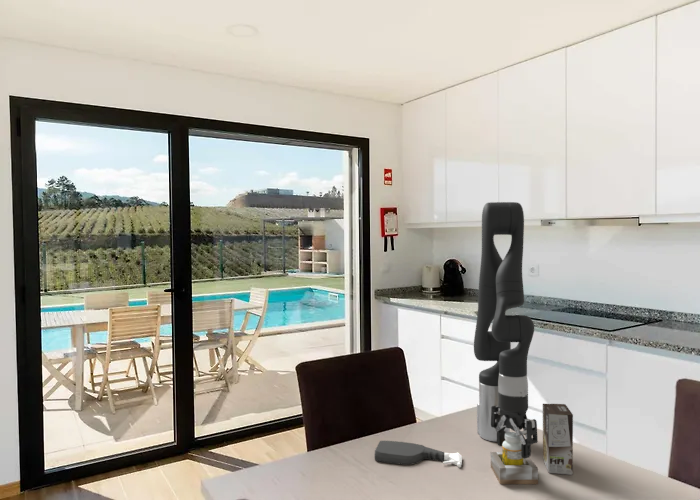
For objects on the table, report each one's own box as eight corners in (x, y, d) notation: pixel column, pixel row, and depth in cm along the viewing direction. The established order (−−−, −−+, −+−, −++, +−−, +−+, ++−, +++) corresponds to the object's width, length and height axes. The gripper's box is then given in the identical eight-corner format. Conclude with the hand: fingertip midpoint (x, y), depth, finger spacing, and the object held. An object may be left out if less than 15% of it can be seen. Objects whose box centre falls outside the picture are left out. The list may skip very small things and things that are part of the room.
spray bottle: (379, 447, 156) (462, 456, 150) (372, 463, 145) (461, 473, 139) (379, 438, 156) (462, 446, 150) (372, 453, 145) (461, 462, 139)
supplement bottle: (522, 476, 133) (522, 440, 132) (501, 473, 135) (500, 437, 134) (524, 467, 138) (524, 432, 137) (503, 464, 140) (503, 429, 139)
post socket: (500, 484, 131) (499, 468, 131) (490, 467, 141) (490, 452, 141) (537, 484, 131) (537, 467, 131) (526, 467, 141) (526, 451, 140)
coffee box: (573, 475, 135) (573, 414, 135) (548, 473, 137) (547, 413, 136) (566, 460, 144) (566, 403, 144) (542, 458, 146) (542, 402, 145)
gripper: (483, 385, 140) (483, 444, 140) (523, 400, 127) (523, 465, 128) (504, 381, 143) (504, 439, 144) (544, 395, 131) (544, 458, 131)
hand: (513, 451), depth 136 cm, fingers open, 8 cm apart
